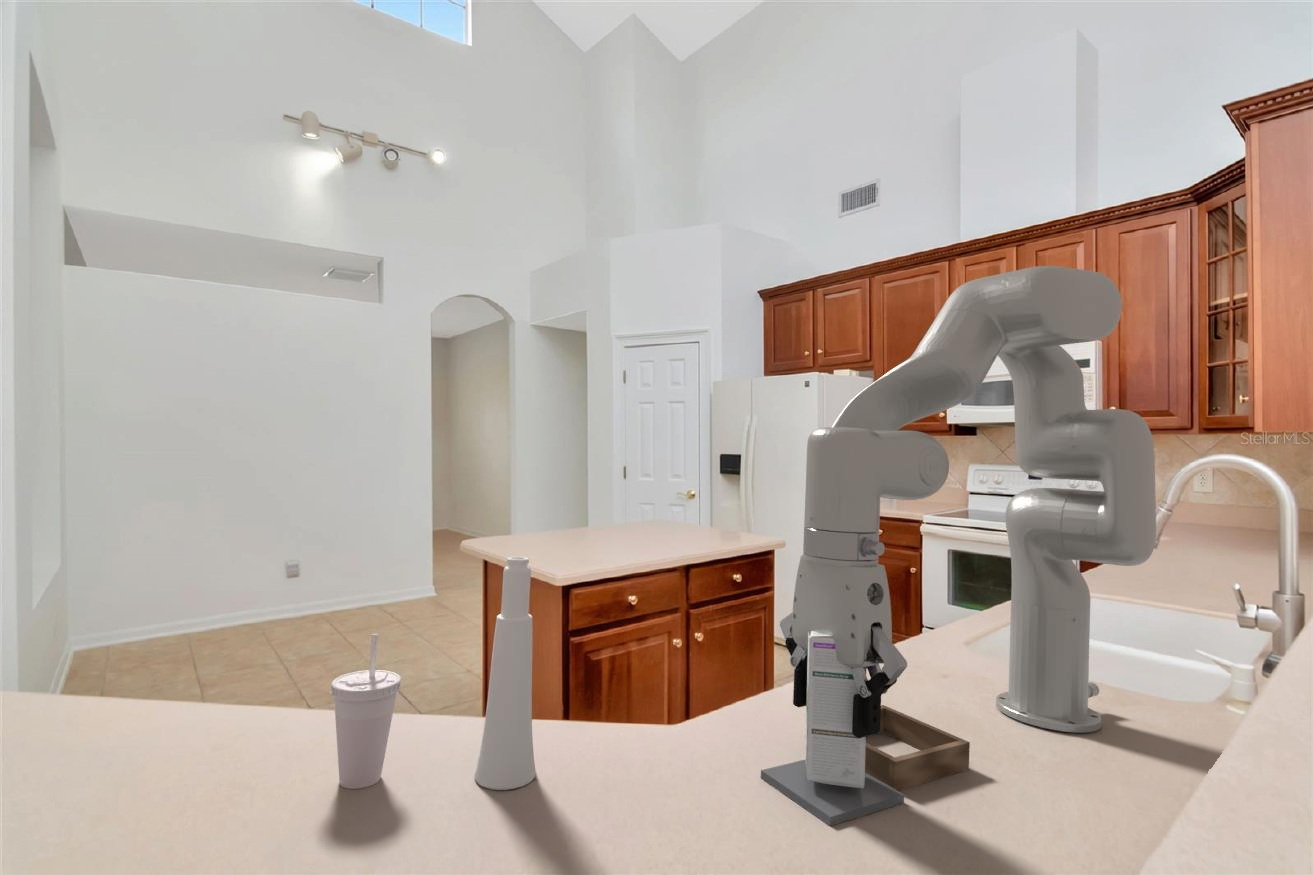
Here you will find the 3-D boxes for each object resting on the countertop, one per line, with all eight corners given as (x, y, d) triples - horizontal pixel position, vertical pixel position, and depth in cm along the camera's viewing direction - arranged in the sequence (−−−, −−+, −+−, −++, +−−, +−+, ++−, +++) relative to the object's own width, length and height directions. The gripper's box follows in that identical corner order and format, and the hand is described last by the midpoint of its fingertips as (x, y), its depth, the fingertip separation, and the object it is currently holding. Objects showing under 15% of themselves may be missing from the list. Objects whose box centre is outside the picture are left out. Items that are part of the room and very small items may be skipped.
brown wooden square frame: (882, 728, 84) (883, 705, 84) (968, 769, 73) (969, 742, 73) (811, 744, 78) (812, 719, 78) (894, 791, 67) (895, 762, 67)
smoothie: (409, 776, 66) (418, 634, 66) (351, 803, 60) (361, 648, 61) (368, 758, 69) (377, 624, 69) (309, 782, 63) (319, 636, 64)
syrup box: (866, 790, 64) (871, 639, 64) (803, 781, 65) (809, 633, 66) (859, 763, 69) (864, 625, 70) (802, 756, 71) (807, 620, 71)
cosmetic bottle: (496, 758, 70) (508, 552, 71) (546, 769, 68) (558, 557, 69) (461, 783, 65) (475, 558, 66) (514, 796, 63) (528, 564, 64)
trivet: (830, 760, 74) (830, 753, 74) (903, 802, 65) (904, 794, 65) (760, 778, 69) (761, 770, 69) (829, 826, 60) (830, 817, 60)
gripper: (936, 558, 62) (931, 746, 62) (808, 536, 77) (803, 687, 77) (882, 561, 59) (875, 761, 58) (758, 537, 74) (752, 696, 73)
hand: (834, 717), depth 67 cm, fingers closed on syrup box, 7 cm apart
